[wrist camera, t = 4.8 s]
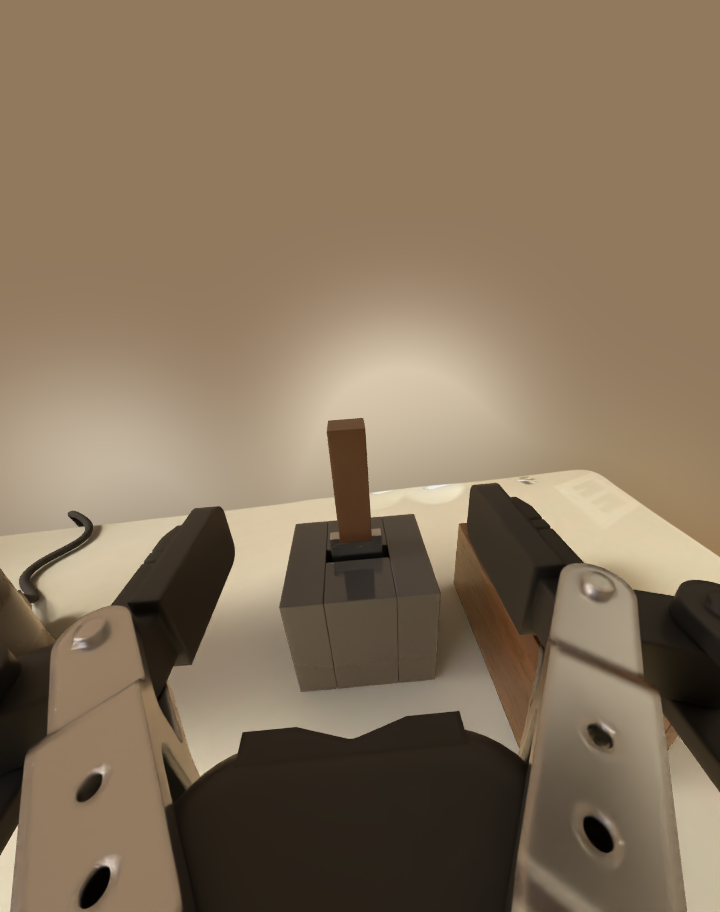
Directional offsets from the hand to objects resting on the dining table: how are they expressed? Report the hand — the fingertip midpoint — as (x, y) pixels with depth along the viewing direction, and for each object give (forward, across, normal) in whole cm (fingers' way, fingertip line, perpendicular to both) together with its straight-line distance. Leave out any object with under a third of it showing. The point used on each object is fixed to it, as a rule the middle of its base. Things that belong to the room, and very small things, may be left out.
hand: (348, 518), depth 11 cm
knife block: (+11, 0, +22) cm, 25 cm away
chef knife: (+11, 0, +22) cm, 25 cm away
